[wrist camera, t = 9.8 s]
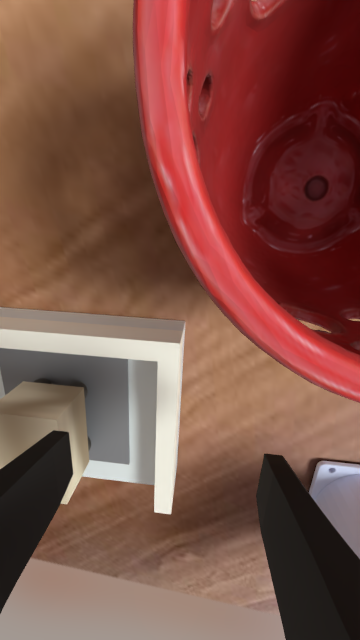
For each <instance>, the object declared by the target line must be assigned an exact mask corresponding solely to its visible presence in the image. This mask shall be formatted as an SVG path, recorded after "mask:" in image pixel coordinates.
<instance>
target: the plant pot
mask: <svg viewBox="0 0 360 640" xmlns="http://www.w3.org/2000/svg"><path fill="white" fill-rule="evenodd" d="M133 55H134V71H135V87H136V94H137V102H138V110H139V118H140V126H141V133H142V138H143V142H144V147H145V151H146V155H147V160H148V164H149V168H150V172H151V175H152V179H153V182H154V185H155V188H156V192H157V195H158V198H159V201H160V203H161V206H162V209H163V212H164V215H165V217H166V219H167V222H168V224H169V227H170V229H171V232H172V234H173V236H174V239H175V241H176V243H177V245H178V247H179V248H180V250H181V252H182V254H183V256H184V258H185V259H186V261H187V263H188V265H189V266H190V268H191V270H192V271H193V273H194V275H195V277H196V278H197V280H198V281H199V283H200V284H201V286H202V287H203V288H204V290H205V291H206V292H207V294H208V295H209V297H210V298H211V299H212V301H213V302H214V303H215V304H216V305H217V307H218V308H219V309H220V310H221V312H222V313H223V314H224V315H225V316H226V317H227V318H228V319H229V320H230V321H231V322H232V323H233V324H234V326H235V327H236V328H237V329H238V330H239V331H240V332H241V333H242V334H243V335H245V336H246V337H247V338H248V339H249V340H250V341H252V342H253V343H254V344H255V345H256V346H257V347H259V348H260V349H261V350H263V351H264V352H265V353H267V354H268V355H269V356H271V357H272V358H273V359H275V360H276V361H278V362H279V363H280V364H282V365H283V366H285V367H286V368H288V369H289V370H291V371H292V372H294V373H296V374H297V375H299V376H301V377H302V378H304V379H306V380H307V381H309V382H311V383H313V384H315V385H317V386H319V387H321V388H323V389H325V390H327V391H330V392H332V393H335V394H337V395H340V396H343V397H345V398H348V399H350V400H353V401H356V402H359V403H360V321H351V320H348V319H360V0H256V1H251V0H134V7H133ZM297 319H298V320H302V321H306V322H309V323H312V324H315V325H318V326H320V327H323V328H325V329H326V330H328V331H330V332H332V333H328V332H326V331H320V330H312V329H310V328H308V327H307V326H305V325H304V324H302V323H301V322H299V321H298V320H297Z"/></svg>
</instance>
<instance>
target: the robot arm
mask: <svg viewBox="0 0 360 640" xmlns="http://www.w3.org/2000/svg"><path fill="white" fill-rule="evenodd" d="M72 476H73V466H72V456H71V447H70V438H69V432H65V431H56V430H53V431H52V432H50V433H49V434H47V435H46V436H45V437H43V438H42V439H41V440H39V441H38V442H37V443H35V444H34V445H33V446H31V447H30V448H29V449H27V450H26V451H24V452H23V453H22V454H20V455H19V456H18V457H16V458H15V459H14V460H12V461H11V462H10V463H8V464H7V465H5V466H4V467H3V468H1V469H0V613H1V611H2V609H3V607H4V605H5V603H6V601H7V599H8V597H9V595H10V593H11V592H12V590H13V588H14V586H15V584H16V582H17V580H18V579H19V577H20V575H21V573H22V571H23V569H24V568H25V566H26V564H27V563H28V561H29V559H30V557H31V556H32V554H33V552H34V550H35V549H36V547H37V545H38V543H39V541H40V540H41V538H42V536H43V534H44V533H45V531H46V529H47V527H48V525H49V524H50V522H51V520H52V518H53V516H54V515H55V513H56V511H57V509H58V507H59V505H60V503H61V501H62V499H63V497H64V495H65V492H66V490H67V488H68V485H69V483H70V481H71V478H72ZM256 498H257V506H258V514H259V521H260V528H261V534H262V538H263V543H264V547H265V551H266V556H267V560H268V564H269V569H270V573H271V577H272V581H273V586H274V590H275V594H276V598H277V603H278V607H279V611H280V616H281V620H282V624H283V629H284V633H285V638H286V640H360V465H358V464H349V463H340V462H331V461H320V462H318V463H317V465H316V469H315V473H314V476H313V480H312V483H311V487H310V490H309V493H308V491H307V490H306V488H305V487H304V486H303V484H302V483H301V481H300V480H299V479H298V477H297V476H296V474H295V473H294V471H293V470H292V468H291V467H290V466H289V464H288V463H287V461H286V460H285V458H284V457H283V456H281V455H272V454H264V459H263V464H262V469H261V474H260V479H259V485H258V490H257V495H256Z"/></svg>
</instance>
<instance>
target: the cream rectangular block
mask: <svg viewBox="0 0 360 640" xmlns="http://www.w3.org/2000/svg"><path fill="white" fill-rule="evenodd" d="M87 393H88V390H87V387H86V385H85V384H83V383H82V382H73V383H71V384H69V385H68V386H65V385H55V384H52V382H51V381H50V380H48V379H46V378H40V379H37V380H35V381H34V382H25V381H23V382H22V383H20V384H19V385H18V386H17V387H15V388H14V389H13V390H11V391H10V392H9V393H8V394H6V395H5V396H4V397H2V398H1V399H0V469H1V468H3V467H4V466H5V465H7V464H8V463H10V462H11V461H12V460H14V459H15V458H16V457H18V456H19V455H20V454H22V453H23V452H24V451H26V450H27V449H29V448H30V447H31V446H33V445H34V444H35V443H37V442H38V441H39V440H41V439H42V438H43V437H45V436H46V435H47V434H49V433H50V432H52V431H53V430H56V431H65V432H69V438H70V447H71V456H72V466H73V476H72V478H71V481H70V483H69V485H68V488H67V490H66V492H65V495H64V497H63V499H62V501H61V503H60V504H68V502H69V500H70V498H71V496H72V494H73V492H74V490H75V488H76V486H77V484H78V482H79V481H80V479H81V477H82V475H83V473H84V471H85V469H86V467H87V465H88V463H89V450H90V448H91V440H90V438H89V437H88V436H87V424H86V411H85V398H86V396H87Z"/></svg>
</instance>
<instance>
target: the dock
mask: <svg viewBox="0 0 360 640" xmlns="http://www.w3.org/2000/svg"><path fill="white" fill-rule="evenodd" d="M184 335H185V321H179V320H165V319H152V318H139V317H125V316H112V315H99V314H85V313H72V312H58V311H45V310H32V309H18V308H5V307H0V399H1V398H2V397H4V396H5V395H6V394H8V393H9V392H10V391H11V390H13V389H14V388H15V387H17V386H18V385H19V384H20V383H22V382H23V381H25V382H34V381H35V380H37V379H40V378H46V379H48V380H50V381H51V382H52V384H55V385H65V386H68V385H69V384H71V383H73V382H82V383H83V384H85V385H86V387H87V390H88V393H87V396H86V398H85V411H86V424H87V436H88V437H89V438H90V440H91V448H90V450H89V463H88V465H87V467H86V469H85V471H84V473H83V475H82V476H84V477H92V478H100V479H108V480H117V481H125V482H133V483H141V484H149V485H155V497H154V512H157V513H164V514H171V511H172V502H173V494H174V486H175V477H176V469H177V456H178V439H179V421H180V404H181V387H182V370H183V352H184Z"/></svg>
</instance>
